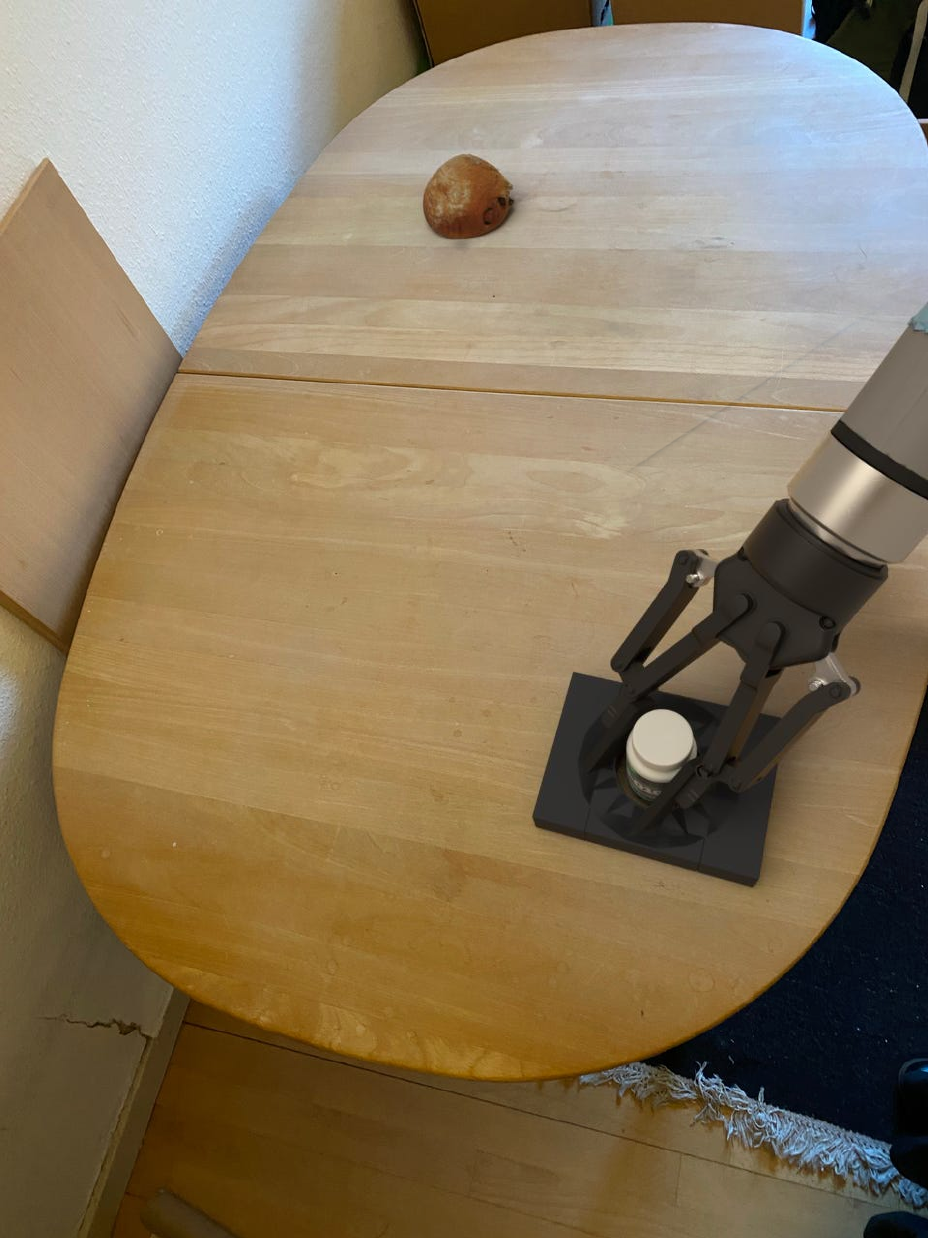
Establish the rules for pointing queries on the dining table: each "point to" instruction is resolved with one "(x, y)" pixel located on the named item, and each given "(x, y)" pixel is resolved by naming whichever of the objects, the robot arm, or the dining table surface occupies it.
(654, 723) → the pill bottle
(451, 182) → the bread roll
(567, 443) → the dining table surface
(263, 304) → the dining table surface
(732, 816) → the black rectangular holder
